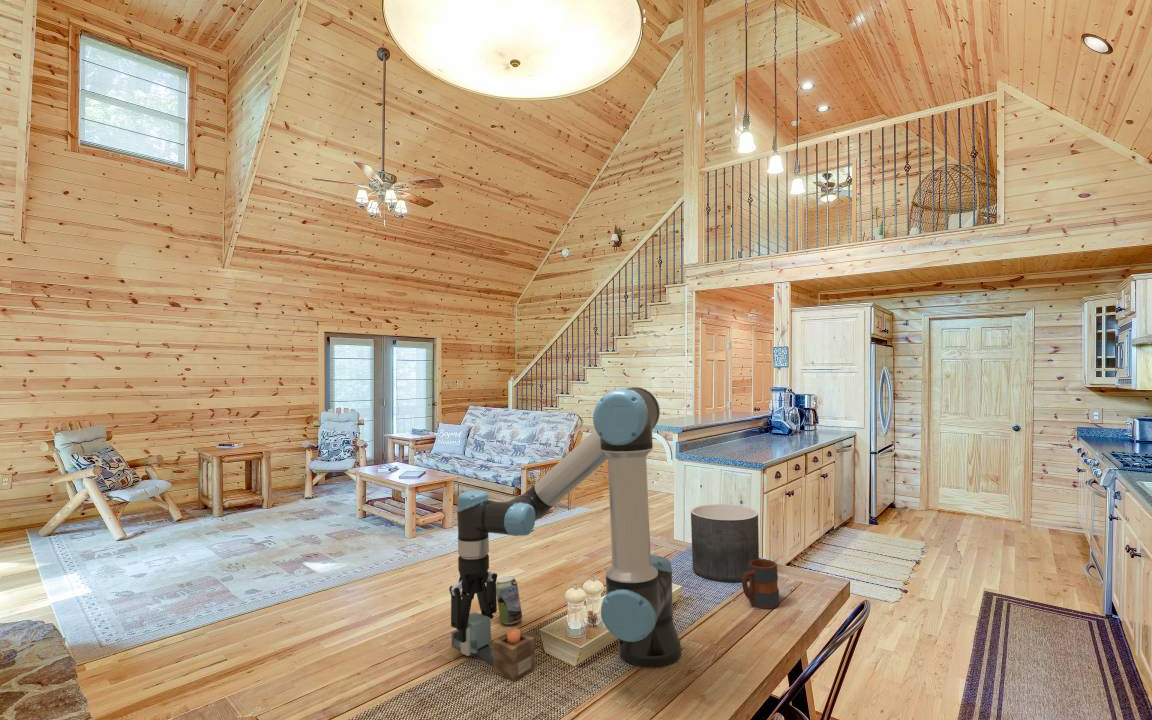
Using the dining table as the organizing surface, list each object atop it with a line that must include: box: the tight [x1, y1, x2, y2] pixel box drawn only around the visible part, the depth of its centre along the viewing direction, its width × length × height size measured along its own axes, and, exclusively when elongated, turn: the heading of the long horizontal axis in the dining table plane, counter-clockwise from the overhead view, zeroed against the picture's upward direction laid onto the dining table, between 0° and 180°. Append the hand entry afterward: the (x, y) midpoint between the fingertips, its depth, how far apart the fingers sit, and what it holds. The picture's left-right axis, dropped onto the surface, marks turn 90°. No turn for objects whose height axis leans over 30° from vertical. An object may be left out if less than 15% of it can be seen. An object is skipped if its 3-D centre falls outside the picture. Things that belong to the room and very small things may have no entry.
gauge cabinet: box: [492, 632, 536, 682], centre depth 133 cm, size 7×7×7 cm
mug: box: [741, 558, 780, 610], centre depth 166 cm, size 9×12×12 cm
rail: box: [450, 629, 493, 666], centre depth 141 cm, size 18×3×4 cm, turn 50°
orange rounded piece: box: [506, 627, 521, 646], centre depth 133 cm, size 3×3×4 cm
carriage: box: [459, 611, 492, 654], centre depth 142 cm, size 6×5×7 cm
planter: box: [690, 503, 760, 583], centre depth 195 cm, size 22×22×20 cm
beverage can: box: [496, 575, 523, 625], centre depth 159 cm, size 6×7×12 cm
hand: (475, 649), depth 142 cm, fingers closed on carriage, 5 cm apart
